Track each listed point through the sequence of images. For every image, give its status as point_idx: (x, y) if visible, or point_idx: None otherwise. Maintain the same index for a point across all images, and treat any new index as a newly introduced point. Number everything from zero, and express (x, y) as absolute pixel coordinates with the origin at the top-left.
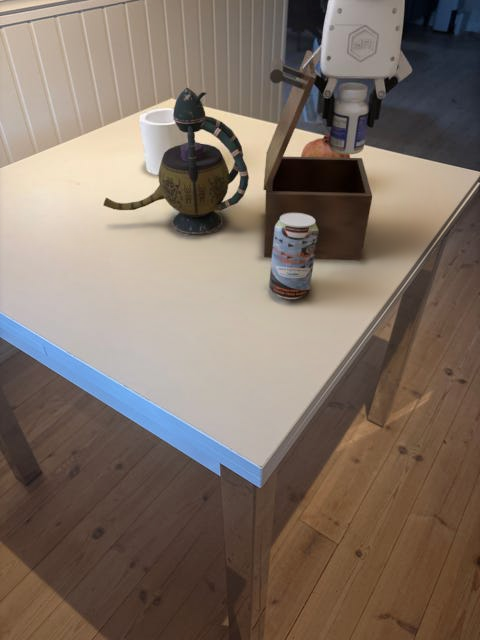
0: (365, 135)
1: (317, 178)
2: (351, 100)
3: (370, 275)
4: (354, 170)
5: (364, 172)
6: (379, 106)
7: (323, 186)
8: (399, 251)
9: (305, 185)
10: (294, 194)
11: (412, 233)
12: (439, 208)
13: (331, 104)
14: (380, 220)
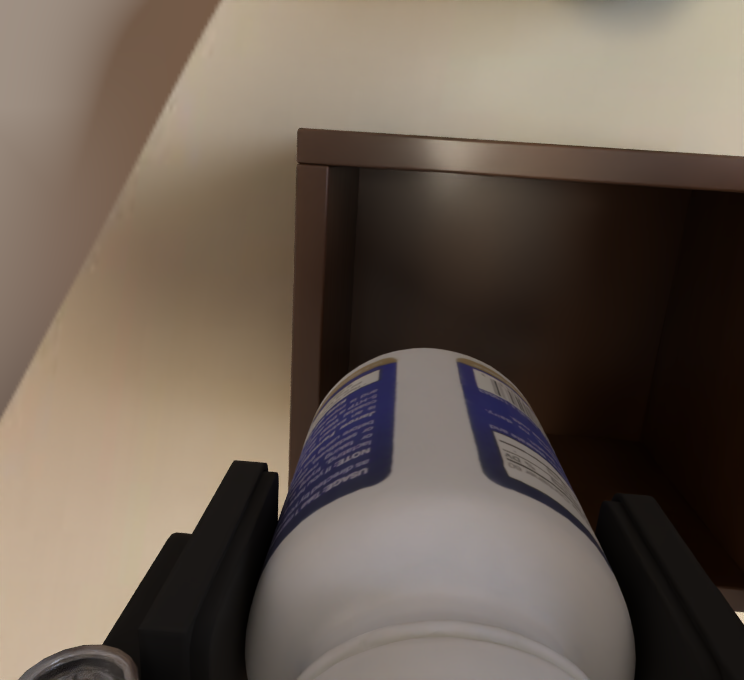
0: (298, 461)
1: None
2: (495, 629)
3: (322, 32)
4: None
5: (298, 409)
6: (139, 605)
7: None
8: (193, 196)
9: None
10: (741, 158)
11: (130, 316)
12: (15, 476)
13: (723, 634)
14: (231, 405)
